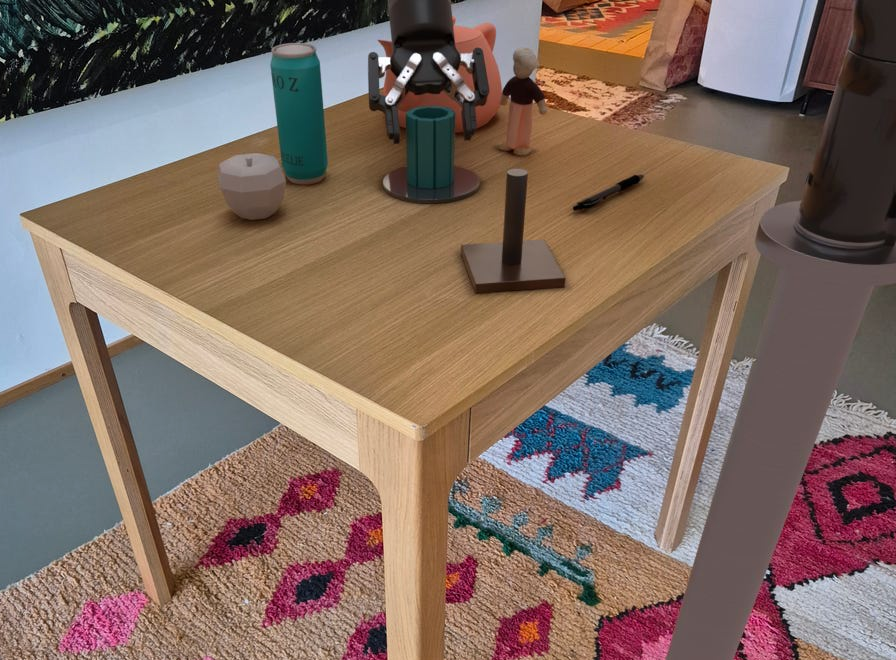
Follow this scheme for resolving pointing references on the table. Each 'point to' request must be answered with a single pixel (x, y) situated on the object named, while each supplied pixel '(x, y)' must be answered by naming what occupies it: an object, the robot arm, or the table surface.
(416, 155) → the teal octagonal tube
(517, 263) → the holder
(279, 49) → the beverage can
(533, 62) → the grandmother figurine
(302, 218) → the table surface
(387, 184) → the slate coaster
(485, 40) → the teapot
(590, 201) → the pen
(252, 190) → the apple
